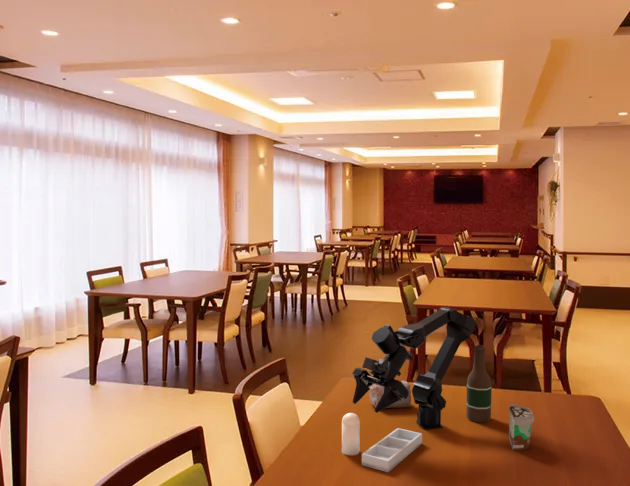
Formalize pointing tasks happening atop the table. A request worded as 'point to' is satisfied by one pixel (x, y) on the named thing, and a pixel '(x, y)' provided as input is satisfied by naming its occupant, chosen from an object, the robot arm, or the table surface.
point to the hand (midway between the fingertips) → (364, 407)
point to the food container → (520, 426)
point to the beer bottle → (479, 389)
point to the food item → (378, 391)
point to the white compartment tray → (391, 449)
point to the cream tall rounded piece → (350, 434)
